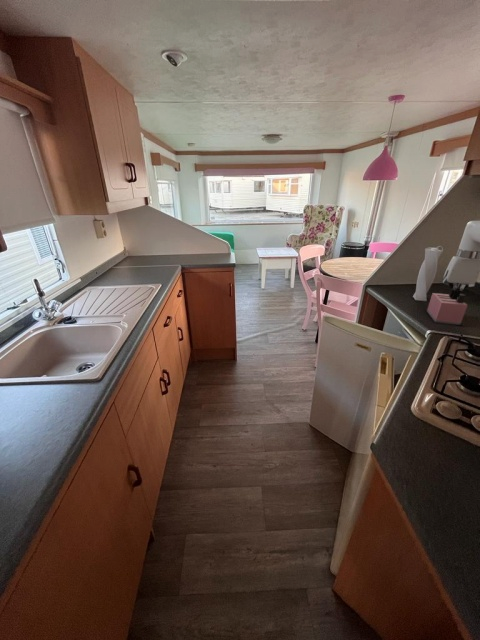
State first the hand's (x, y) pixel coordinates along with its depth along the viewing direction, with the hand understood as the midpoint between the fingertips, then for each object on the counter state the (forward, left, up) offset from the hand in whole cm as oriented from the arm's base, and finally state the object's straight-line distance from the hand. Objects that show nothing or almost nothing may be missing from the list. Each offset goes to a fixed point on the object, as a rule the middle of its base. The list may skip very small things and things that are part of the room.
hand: (453, 298), depth 111 cm
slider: (-3, 0, -1) cm, 3 cm away
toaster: (0, -3, -10) cm, 11 cm away
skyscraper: (+3, -27, -10) cm, 30 cm away
